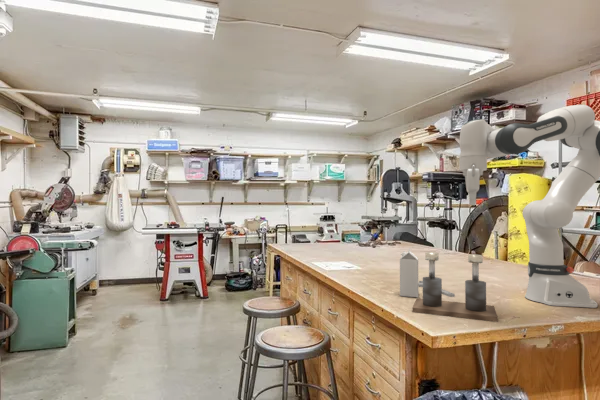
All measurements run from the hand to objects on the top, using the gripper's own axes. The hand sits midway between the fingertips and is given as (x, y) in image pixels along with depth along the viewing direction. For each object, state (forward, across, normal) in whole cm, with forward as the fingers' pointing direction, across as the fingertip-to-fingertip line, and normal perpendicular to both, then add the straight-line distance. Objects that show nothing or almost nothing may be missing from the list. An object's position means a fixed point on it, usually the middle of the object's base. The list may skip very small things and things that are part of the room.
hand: (472, 204), depth 127 cm
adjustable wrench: (+38, +27, +15) cm, 49 cm away
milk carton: (+38, +13, +23) cm, 46 cm away
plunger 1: (+26, -4, +13) cm, 29 cm away
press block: (+37, -4, +6) cm, 38 cm away
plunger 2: (+26, -4, -1) cm, 26 cm away
